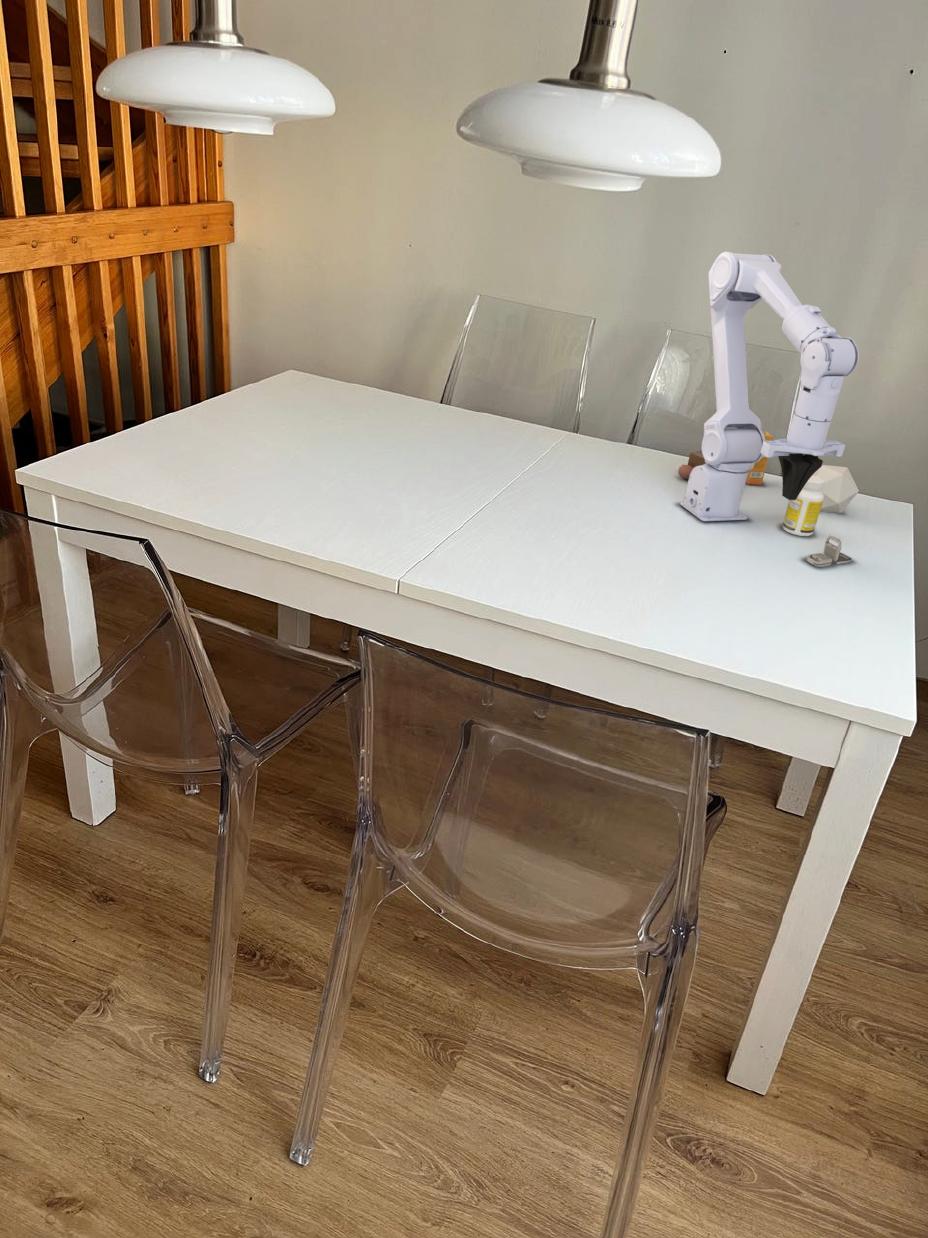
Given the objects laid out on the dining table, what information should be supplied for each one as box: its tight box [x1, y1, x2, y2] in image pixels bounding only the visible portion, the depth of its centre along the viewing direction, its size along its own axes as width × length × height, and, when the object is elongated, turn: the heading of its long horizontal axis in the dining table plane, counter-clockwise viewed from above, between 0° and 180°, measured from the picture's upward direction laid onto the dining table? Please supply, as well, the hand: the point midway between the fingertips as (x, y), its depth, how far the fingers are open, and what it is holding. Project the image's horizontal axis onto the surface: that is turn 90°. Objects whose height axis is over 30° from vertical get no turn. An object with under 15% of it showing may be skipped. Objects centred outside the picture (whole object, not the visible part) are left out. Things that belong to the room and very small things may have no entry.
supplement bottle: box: [782, 475, 824, 537], centre depth 169 cm, size 5×5×10 cm
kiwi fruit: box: [677, 464, 694, 480], centre depth 189 cm, size 6×5×3 cm
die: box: [813, 464, 860, 514], centre depth 181 cm, size 8×9×10 cm
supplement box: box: [745, 431, 774, 486], centre depth 189 cm, size 3×3×10 cm
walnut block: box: [687, 449, 706, 468], centre depth 189 cm, size 5×5×5 cm
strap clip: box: [804, 535, 853, 568], centre depth 159 cm, size 8×3×4 cm, turn 117°
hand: (789, 497), depth 157 cm, fingers closed
